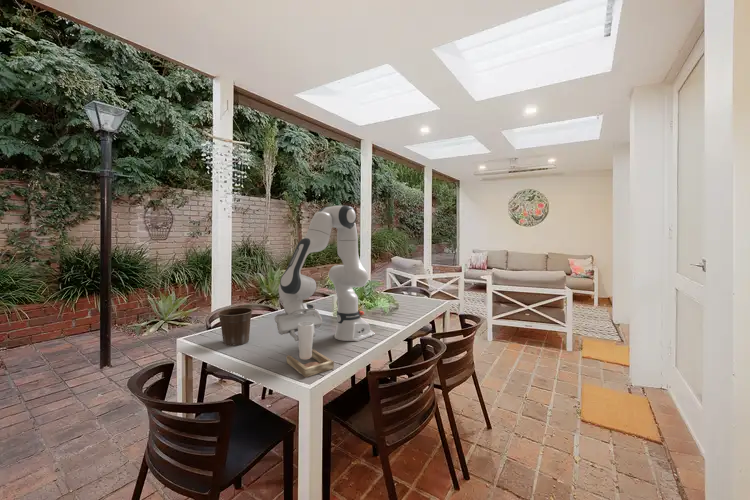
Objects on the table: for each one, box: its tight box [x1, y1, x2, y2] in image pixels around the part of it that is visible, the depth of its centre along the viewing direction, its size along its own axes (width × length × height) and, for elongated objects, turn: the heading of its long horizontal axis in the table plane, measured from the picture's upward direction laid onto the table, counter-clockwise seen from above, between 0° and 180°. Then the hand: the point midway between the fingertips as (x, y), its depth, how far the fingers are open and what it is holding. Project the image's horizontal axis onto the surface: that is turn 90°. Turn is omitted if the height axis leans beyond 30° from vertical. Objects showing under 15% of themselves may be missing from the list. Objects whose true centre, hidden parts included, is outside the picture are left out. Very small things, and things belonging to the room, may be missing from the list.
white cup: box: [297, 322, 314, 361], centre depth 136 cm, size 7×7×15 cm
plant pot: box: [217, 307, 253, 347], centre depth 161 cm, size 16×16×16 cm
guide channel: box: [286, 348, 335, 378], centre depth 134 cm, size 13×18×3 cm
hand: (305, 338), depth 136 cm, fingers closed on white cup, 6 cm apart
